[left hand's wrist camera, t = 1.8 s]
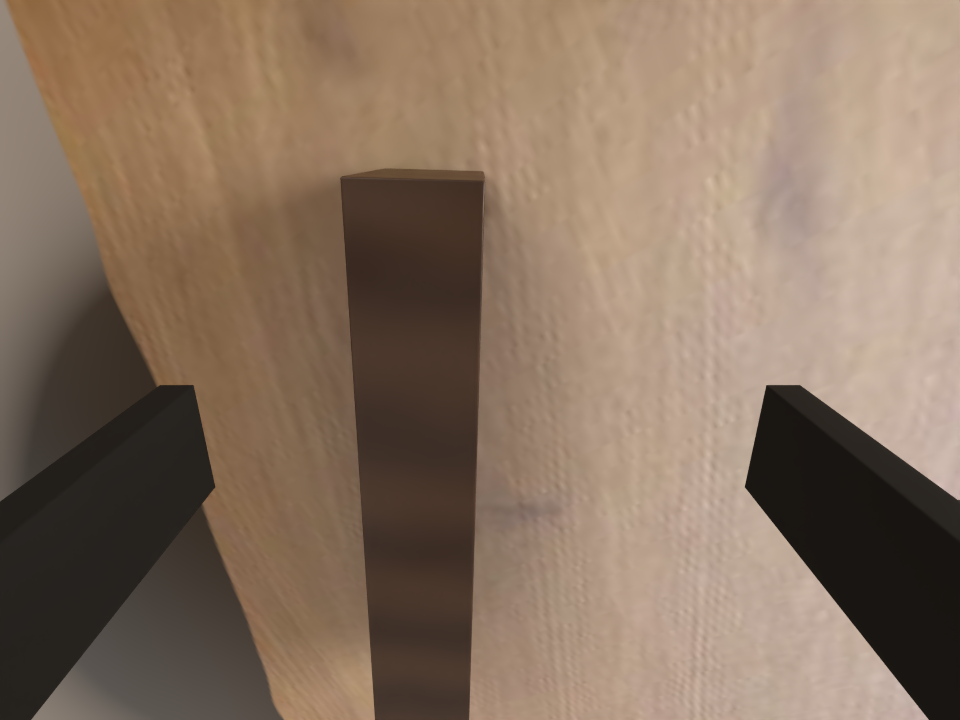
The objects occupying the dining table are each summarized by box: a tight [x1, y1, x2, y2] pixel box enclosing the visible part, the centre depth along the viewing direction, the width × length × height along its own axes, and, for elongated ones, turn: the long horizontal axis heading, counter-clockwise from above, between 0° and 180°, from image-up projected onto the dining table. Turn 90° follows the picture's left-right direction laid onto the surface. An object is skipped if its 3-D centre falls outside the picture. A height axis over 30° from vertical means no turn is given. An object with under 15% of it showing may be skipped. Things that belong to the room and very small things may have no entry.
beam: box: [341, 169, 485, 720], centre depth 28 cm, size 30×5×9 cm, turn 178°
